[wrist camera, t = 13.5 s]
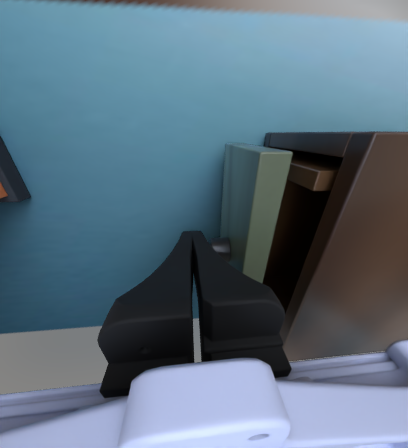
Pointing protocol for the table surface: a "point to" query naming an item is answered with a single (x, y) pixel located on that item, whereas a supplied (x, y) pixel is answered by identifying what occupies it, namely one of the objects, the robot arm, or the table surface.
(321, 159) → the drawer
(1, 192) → the block
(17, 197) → the coaster
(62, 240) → the table surface
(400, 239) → the cabinet
